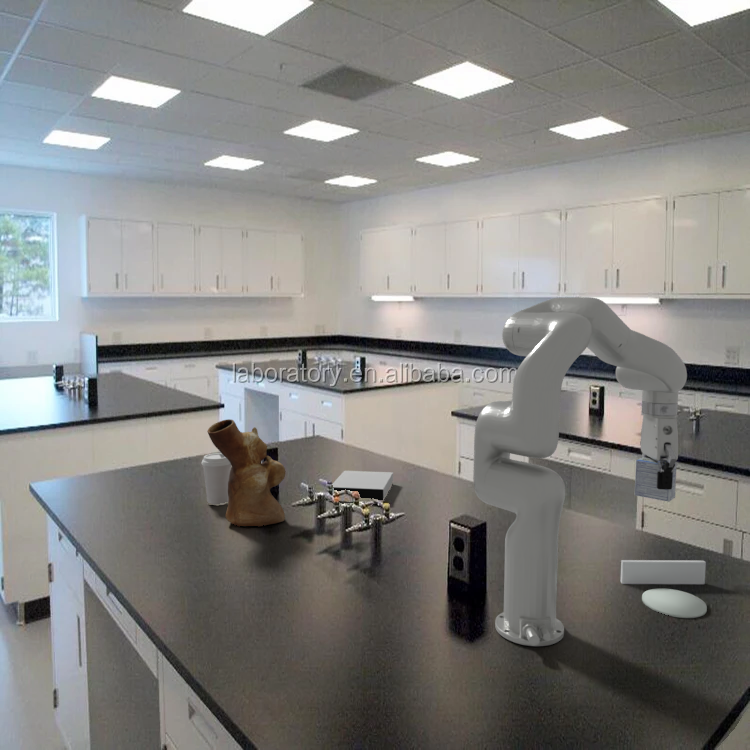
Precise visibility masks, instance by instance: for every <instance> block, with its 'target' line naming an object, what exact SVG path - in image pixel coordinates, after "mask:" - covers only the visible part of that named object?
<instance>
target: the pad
mask: <svg viewBox="0 0 750 750" xmlns="http://www.w3.org/2000/svg"><path fill="white" fill-rule="evenodd" d="M641 601H642V603H643V604H644V605H645V606H646V607H647V608H649V609H650V610H652V611H654V612H657V613H658V612H659V614H661V613H662V615H664V614H665V615H666V616H668V615H669V616H668V617H673V618H678V619H679V618H680V619H696V618H700V617H702V616H704V615H705V614H707V611H708V610H707V609H708V607H707V603H706V602H705V601H704V600H702V599H701V598H700V597H698V596H697V595H694V594H692V593H689V592H686V591H682V590H678V589H675V588H674V589H672V588H664V587H663V588H662V587H661V588H659V587H658V588H652V589H651V588H650V589H648V590H646V591H644V592H643V593H642V595H641Z"/></svg>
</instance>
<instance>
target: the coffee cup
mask: <svg viewBox="0 0 750 750" xmlns="http://www.w3.org/2000/svg"><path fill="white" fill-rule="evenodd" d="M200 464H201V465H202V468H203V469H202V470H203V476H204V483H205V484H204V485H205V486H204V487H205V492H206V502H208V503H211V504H220V503H225V502H228V500H229V499H228V481H229V475H230V470H231V467H232V465H231V463H230V462H229V460H228V459H227V458H226V457H225V456H224V455H223V454H222V453H221V452H217V453H210V454H206V455H203V458H202V460H201V462H200ZM208 503H207V504H208Z"/></svg>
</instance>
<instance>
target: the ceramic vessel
mask: <svg viewBox="0 0 750 750" xmlns="http://www.w3.org/2000/svg"><path fill="white" fill-rule="evenodd" d="M207 433H208V436H209V438H210V441H211V443H212V445H213V446H214V447H215V448H216V449H217V450H218V451H219V453H222V454H223V455H224V456H225V457H226V458H227V459H228V460H229V462H230V463H231V470H230V475H229V481H228V499H229V500H228V504H227V508H226V512H225V519H226V520H227V521H228V522H229V523H230V524H231V525H233V524H234V525H233V526H236V525H237V526H236V527H240V526H258V527H264V526H267V525H273V524H278V523H281V522H284V521H285V520H286V515H285V511H284V508H283V507H282V505H281V504H280V502H279V501H278V500H277V499H276V498H275V497H274V496H273V495H272V493H271V489H272V488H273V487H277V486H278V485H280V484H281V483H282V481H283V480H284V479H285V478H286V467H284V465H283V464H282V463H281V462H279V461H278V460H274V459H272V457H271V456H269V455H267V450H268V445H267V443H266V442H264V441H263V440H262V439H261V438H260V437H259V432H258V429H257V427H253V428H252V430H251V431H245V432H242V431H241V430H239V428H238V425H237V424H236V422H235V421H234V420H233V419H224V420H220V421H217V422H215V423H213V424H212V425H210V426H209V428H208V429H207ZM263 460H265V461H264V462H263ZM263 525H264V526H263Z"/></svg>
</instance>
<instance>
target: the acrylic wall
mask: <svg viewBox="0 0 750 750" xmlns="http://www.w3.org/2000/svg"><path fill="white" fill-rule="evenodd" d="M620 562H621V563H620V583H621V584H622V585H705V582H706V581H705V580H706V568H707V567H706V566H707V564H706V563H707V562H706V561H705V560H700V559H699V560H696V559H695V560H694V559H693V560H692V559H691V560H688V559H687V560H686V559H685V560H682V559H681V560H680V559H678V560H673V559H672V560H668V559H667V560H665V559H663V560H662V559H661V560H659V559H657V560H655V559H653V560H649V559H646V560H645V559H640V560H639V559H636V560H635V559H621V560H620Z"/></svg>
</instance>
